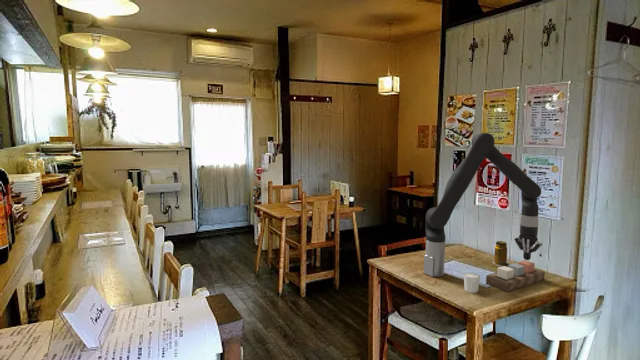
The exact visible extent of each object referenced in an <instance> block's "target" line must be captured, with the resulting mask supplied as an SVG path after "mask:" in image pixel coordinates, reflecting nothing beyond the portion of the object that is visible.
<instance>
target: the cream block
mask: <svg viewBox="0 0 640 360" xmlns="http://www.w3.org/2000/svg"><path fill="white" fill-rule="evenodd" d="M496 270H497V271H496V273H497V276H498V277H500V278H503V279H506V280H508V279H511V278H514V269H512V268H509V267H508V266H498V267H497V269H496Z"/></svg>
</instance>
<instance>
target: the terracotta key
mask: <svg viewBox="0 0 640 360" xmlns="http://www.w3.org/2000/svg"><path fill="white" fill-rule="evenodd" d="M517 264H519V265H522V266H525V268H524V272H526V273H530V272H534V269H535V265H536V264H535V262H532V261H528V260H525V259H524V260H521V261H518V263H517Z"/></svg>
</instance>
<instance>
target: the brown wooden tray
mask: <svg viewBox="0 0 640 360" xmlns="http://www.w3.org/2000/svg"><path fill="white" fill-rule="evenodd" d="M485 276H486V277H485V279H486V280H485V285H489V286H491V287H494V288H496V289H498V290H501V291H503V292H505V293H509V292H513V291H515V290H518V289H521V288H524V287H527V286H531V285H533V284H536V283H539V282H542V281H545V271H544V270H539V269H536V268H534V272H530V273H526V272H524V275H521V276H515V275H514V278H511V279H508V280H506V279H503V278H500V277H498V276H497V272H495V273H494V272H493V273H490V274H487V275H485Z"/></svg>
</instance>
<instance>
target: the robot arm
mask: <svg viewBox="0 0 640 360" xmlns="http://www.w3.org/2000/svg"><path fill="white" fill-rule="evenodd" d="M470 143H471V148H470V150H469V152H468V153H467V155H466V156H465V158H464V159H463V160H462V161H461V162H460V163H459V164H458V166H457V167H456V168H455V170H453V173H452V174H451V176H450V178H449V179H448V181H447V183H446V186H445V189H444V192H443V196H442V197H441V200H440V202H439V203H438V204H437V206H436V207H434V206H433V207H431V208H429V209H428V210H427V212H426V214H425V224H424V225H425V228H424V229H425V254H424V255H423V274H425V275H428V276H430V277H432V278H433V277H442V276H444V275H445V262H446V261H445V259H446V258H445V257H446V233H445V226H446V225H448V224H447V223H448V222H449V220H450V218H451V215H452V213H453V211H454V210H455V207H456V206H457V205H458V202H460V200H461V198H462V197H463V195H464V194H465V192H466V191H467V189H468V188H469V186H470V184H471V182H472V181H473V180H474V177H475V176H476V173H477V172H478V170H479V167H480V166H481V164H482V163H483V162H484V160H485V159H487V160H488V161H489V162H491V163H492V164H493V165H494V166H495V167H496V168H497V169H498V170H499V172H501V174H503V175H504V176H505V177H506V178H507V179H508V180H509V181H510V182H511V183H512V184H513V185H515V186H516V187H517V188H518V189H519V190H520V191H521V192H520V193H521V216H520V221H519V222H520V223H519V235H518V237H515V238H514V241H515V243H516V245H517V247H518V249H520V250H521V251H522V252H523V255H522V257H523V259H524V260H525V261H528V260H530V259H531V257H532V253H535V252H536V251H537V250H539V249H540V248H541V247H542V246H543V243H542V242H541V243H540V242H539V241H538V240H539V238H538V233H539V212H540V211H539V204H538V198H540V196H541V194H542V188H541V187H540V185H539V184H537V182H535V180H533V179H532V178H530V177H529V176H528V175H527V174H526V173H525V172H524V171H523V170H522V168H520V167H519V165H518V164H516V163H514V161H512V160H511V159H509V158H508V157H506V155H504V154H503V153H502V152H500V151H499V150H498V148H497V146H495V143H496V142H495V137H494V136H493V135H492V134H490V133H489V132H481V133H479V134H476V135H475V136H473V138H472V139H471V142H470Z"/></svg>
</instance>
